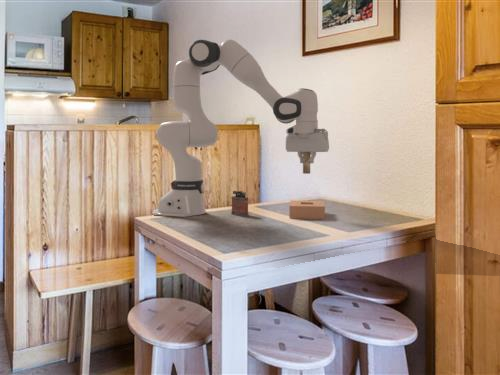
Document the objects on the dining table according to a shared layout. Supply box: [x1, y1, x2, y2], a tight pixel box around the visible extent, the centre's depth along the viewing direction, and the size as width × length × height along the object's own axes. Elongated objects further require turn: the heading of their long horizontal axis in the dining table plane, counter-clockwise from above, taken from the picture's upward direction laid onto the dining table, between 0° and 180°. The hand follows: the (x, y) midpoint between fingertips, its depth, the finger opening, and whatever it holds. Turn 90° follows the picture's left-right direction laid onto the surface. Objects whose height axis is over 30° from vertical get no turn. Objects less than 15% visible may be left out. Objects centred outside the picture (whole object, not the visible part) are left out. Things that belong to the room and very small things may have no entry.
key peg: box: [302, 152, 311, 175], centre depth 182 cm, size 3×3×9 cm
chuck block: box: [288, 200, 326, 220], centre depth 185 cm, size 14×14×5 cm
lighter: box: [230, 190, 249, 217], centre depth 187 cm, size 8×3×10 cm, turn 58°
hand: (306, 163), depth 182 cm, fingers closed on key peg, 3 cm apart
